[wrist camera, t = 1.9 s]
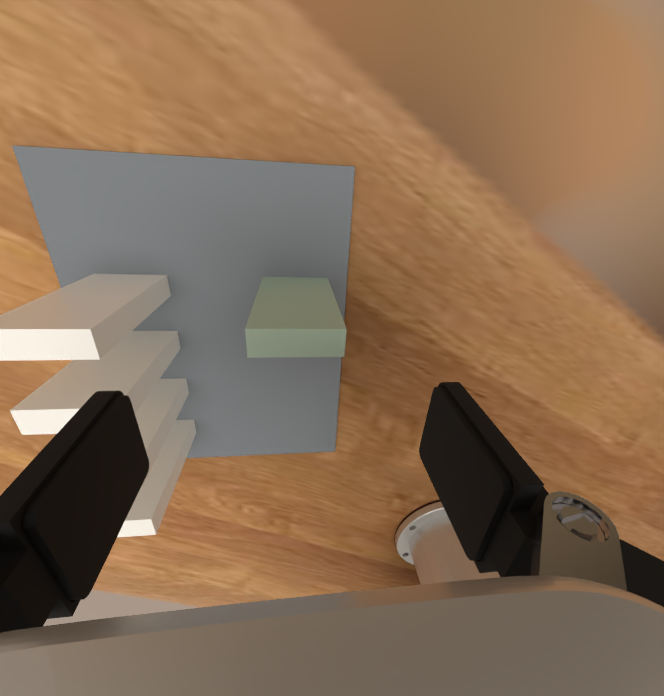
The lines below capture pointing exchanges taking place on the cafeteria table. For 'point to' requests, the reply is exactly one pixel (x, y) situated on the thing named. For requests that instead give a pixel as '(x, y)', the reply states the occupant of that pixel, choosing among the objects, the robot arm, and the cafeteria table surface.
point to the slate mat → (209, 274)
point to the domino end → (295, 320)
